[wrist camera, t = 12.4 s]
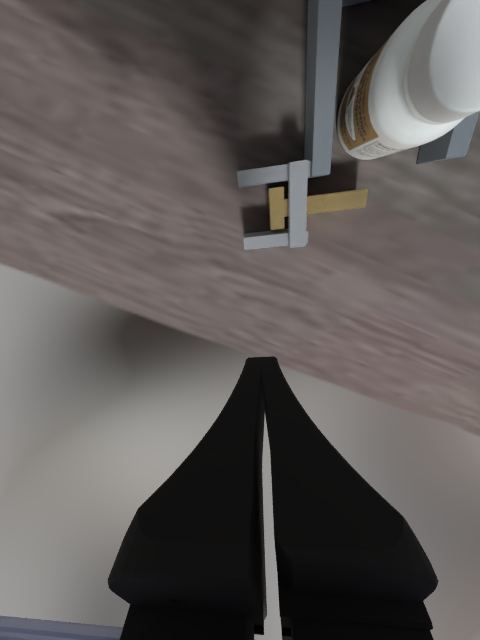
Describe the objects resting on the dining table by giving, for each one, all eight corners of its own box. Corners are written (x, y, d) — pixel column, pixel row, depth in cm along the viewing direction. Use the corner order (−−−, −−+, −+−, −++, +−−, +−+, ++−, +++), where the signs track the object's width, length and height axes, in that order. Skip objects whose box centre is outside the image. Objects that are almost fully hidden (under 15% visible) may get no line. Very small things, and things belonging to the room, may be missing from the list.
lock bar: (358, 177, 15) (370, 175, 13) (353, 217, 16) (363, 219, 14) (267, 189, 15) (268, 188, 14) (269, 226, 16) (270, 230, 15)
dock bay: (489, -58, 10) (564, -139, 8) (416, 226, 16) (446, 232, 13) (222, 2, 11) (213, -49, 9) (245, 244, 17) (244, 252, 15)
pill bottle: (347, 60, 12) (459, -106, 5) (429, 63, 12) (648, -100, 5) (326, 158, 14) (389, 128, 8) (396, 163, 14) (521, 135, 7)
